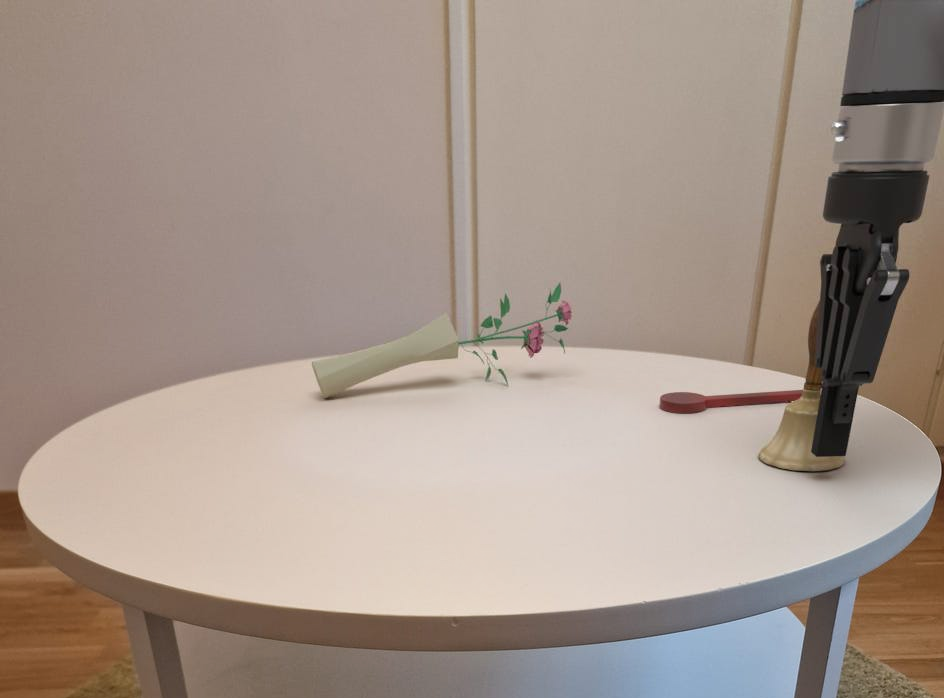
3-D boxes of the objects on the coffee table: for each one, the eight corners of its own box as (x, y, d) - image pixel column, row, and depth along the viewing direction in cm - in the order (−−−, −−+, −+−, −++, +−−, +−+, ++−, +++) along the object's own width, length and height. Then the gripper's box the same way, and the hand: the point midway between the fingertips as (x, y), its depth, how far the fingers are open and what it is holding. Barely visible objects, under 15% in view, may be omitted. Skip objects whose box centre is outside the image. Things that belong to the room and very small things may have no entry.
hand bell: (771, 442, 94) (794, 283, 87) (852, 454, 90) (885, 288, 82) (747, 464, 88) (770, 295, 80) (833, 477, 84) (866, 301, 76)
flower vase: (338, 444, 124) (566, 366, 128) (343, 442, 112) (594, 356, 116) (308, 361, 121) (542, 283, 125) (310, 350, 109) (568, 265, 113)
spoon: (799, 393, 112) (801, 384, 111) (821, 404, 107) (823, 394, 107) (653, 403, 110) (654, 393, 109) (668, 414, 105) (669, 404, 105)
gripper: (805, 167, 76) (766, 435, 88) (865, 171, 65) (811, 478, 77) (892, 164, 76) (842, 433, 88) (967, 168, 65) (898, 475, 77)
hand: (828, 453), depth 82 cm, fingers closed
